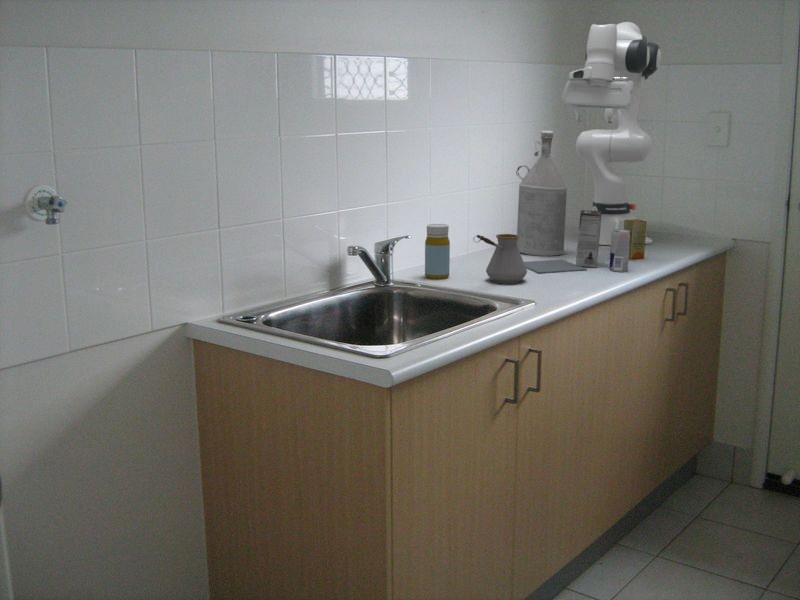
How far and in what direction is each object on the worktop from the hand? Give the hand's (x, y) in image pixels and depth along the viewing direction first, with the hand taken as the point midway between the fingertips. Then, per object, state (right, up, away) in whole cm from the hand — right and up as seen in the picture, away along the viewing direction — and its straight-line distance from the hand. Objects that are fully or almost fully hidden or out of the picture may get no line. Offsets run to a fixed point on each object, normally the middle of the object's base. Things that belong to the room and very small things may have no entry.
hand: (594, 122), depth 267 cm
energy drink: (+7, -45, -3) cm, 45 cm away
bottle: (-48, -47, -12) cm, 68 cm away
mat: (-13, -44, +2) cm, 45 cm away
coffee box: (-1, -43, +6) cm, 43 cm away
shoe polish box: (+16, -40, +17) cm, 47 cm away
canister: (-13, -38, +26) cm, 48 cm away
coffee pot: (-32, -49, -21) cm, 62 cm away
